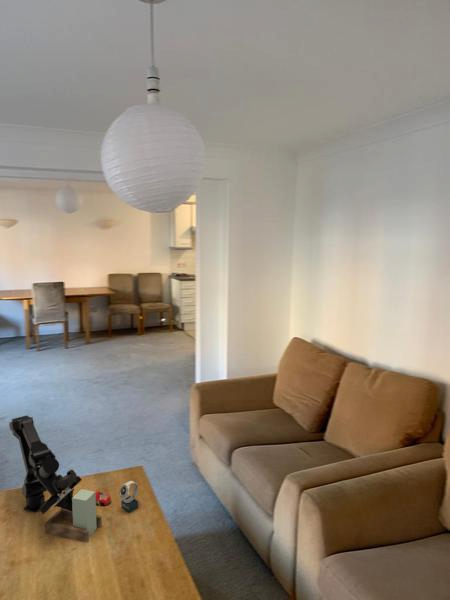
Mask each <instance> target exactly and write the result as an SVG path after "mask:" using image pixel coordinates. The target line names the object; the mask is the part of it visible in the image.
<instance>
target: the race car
mask: <svg viewBox="0 0 450 600" xmlns="http://www.w3.org/2000/svg"><path fill="white" fill-rule="evenodd" d="M93 491H94V492H95V496H96V506H100V507H105V506H108V505H109V504H110V503H111V501H112V498H111V496H110V495H109V494H105V493H104V492H101V491H97V490H93Z"/></svg>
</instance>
